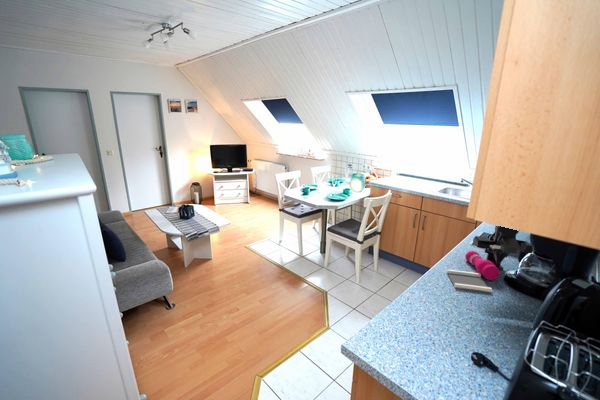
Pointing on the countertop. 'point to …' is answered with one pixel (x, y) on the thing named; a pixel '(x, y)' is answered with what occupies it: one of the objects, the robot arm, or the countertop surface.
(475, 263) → the pepper mill
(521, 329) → the countertop surface
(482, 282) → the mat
